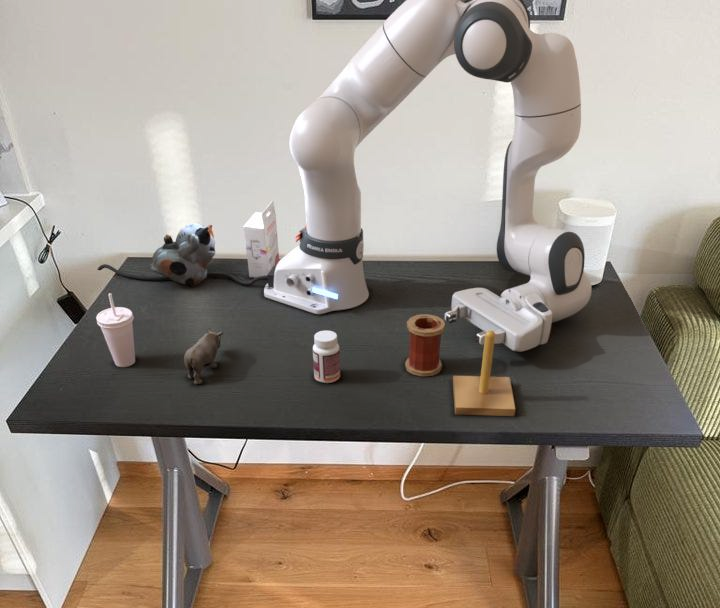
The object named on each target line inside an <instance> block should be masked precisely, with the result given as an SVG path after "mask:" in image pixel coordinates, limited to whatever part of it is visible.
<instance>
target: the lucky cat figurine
mask: <svg viewBox="0 0 720 608" xmlns="http://www.w3.org/2000/svg"><path fill="white" fill-rule="evenodd" d="M163 242H164V244H162V245H161V247H158V248H157V249H155V251H154V252H153V254H152V258H151V263H150V264H149V265H148V266H147V267H148V269H149V270H151V271H153V272H155V273H157V274H159V275H162V276H166V277H168V278H170V280H172V281H174V282H176V283H179V284H183V285H188V284H190V285H191V287H195V286H197V285H198V284H200V283H201V282H202V281H204V280H205V279H206V278H207V277H208V276H207V272H208V265H209V263H210V262H211V261H212V259H213V257H215V255H216V248H215V247H216V243H217V241H216V240H215V234H214V231H213V225H212V224H208V226H205V225H203V224H200V223H188V224H187V225H185V226H183V227H181V228H180V230H179V231H178V232H177V236H176V238H175V241H174V240H173V238H172V236H171V235H169V234H166V235H165V236H164V237H163Z"/></svg>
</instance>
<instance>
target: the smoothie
mask: <svg viewBox="0 0 720 608" xmlns="http://www.w3.org/2000/svg"><path fill="white" fill-rule="evenodd" d="M107 295H108V299H109V303H110V307H109V308H106V309H103V310H101V311H100V312H98V313H97V314H96V317H95V319H96V323H97V325H98V326H99V327H100V330H101V332H102V334H103V337H104V339H105V342H106V345H107V347H108V350H109V352H110V355H111V358H112V360H113V363H114V364H115V366H117V367H120V368H127V367H130V366H132V365H134V364H135V363H136V353H135V352H136V351H135V341H134V340H135V339H134V326H133V325H134V324H133V321H134V314H133V311H132V310H131V309H129V308H127V307H123V306H115V303H114V299H113V294H112V293H111V292H109V293H108V294H107Z"/></svg>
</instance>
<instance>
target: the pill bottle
mask: <svg viewBox="0 0 720 608" xmlns="http://www.w3.org/2000/svg"><path fill="white" fill-rule="evenodd" d="M313 340H314V342H313V343H314V344H313V345H312V358H313V359H312V360H313V377H314V380H316V381H317V382H320V383H323V384H330V383H334V382H337V381H338V380H339V379H340V377H341V356H340V355H341V354H340V353H341V351H340V350H341V349H340V345H339V344H338V334H337V333H336V332H335V331H332V330H320V331H317V332H316V333H315V334H314V335H313Z"/></svg>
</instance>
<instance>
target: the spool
mask: <svg viewBox="0 0 720 608" xmlns="http://www.w3.org/2000/svg"><path fill="white" fill-rule="evenodd" d="M406 328H407V330H408V331H409V344H408V345H409V348H408V357H407V359H406V360H405V362H404V366H405V370H406V371H407V372H408V373H410V374H411V375H414V376H418V377H432V376H435V375H438V374H439V373H440V372H441V370H442V369H443V363H442V361H441V359H440V354H441V339H442V334H443V332H444V331H445V329H446V323H445V320H444V319H443V318H442V317H439V316H438V315H433V314H429V313H428V314H427V313H425V314H424V313H423V314H416V315H414V316H410V317H409V319H408V320H407V321H406Z"/></svg>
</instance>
